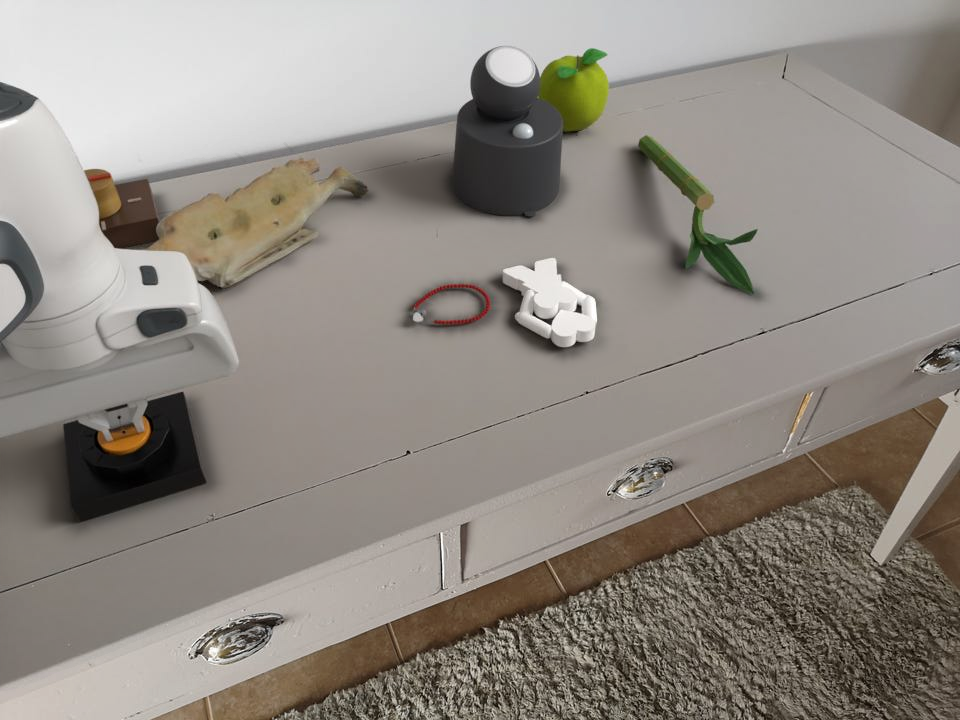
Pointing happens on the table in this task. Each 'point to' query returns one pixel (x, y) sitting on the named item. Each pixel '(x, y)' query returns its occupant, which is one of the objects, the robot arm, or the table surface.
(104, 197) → the dimmer knob
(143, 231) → the dimmer panel
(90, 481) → the switch box
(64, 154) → the robot arm
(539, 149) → the light fixture
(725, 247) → the decorative plant
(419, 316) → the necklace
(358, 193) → the statue
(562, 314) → the white abstract figurine
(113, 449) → the light button
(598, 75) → the fruit
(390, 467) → the table surface
